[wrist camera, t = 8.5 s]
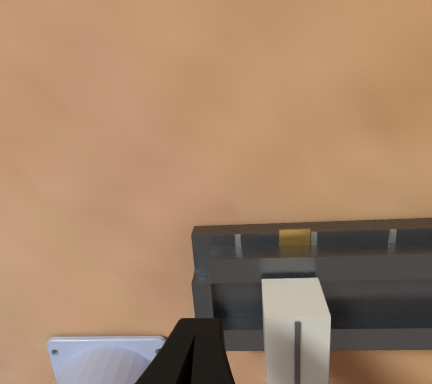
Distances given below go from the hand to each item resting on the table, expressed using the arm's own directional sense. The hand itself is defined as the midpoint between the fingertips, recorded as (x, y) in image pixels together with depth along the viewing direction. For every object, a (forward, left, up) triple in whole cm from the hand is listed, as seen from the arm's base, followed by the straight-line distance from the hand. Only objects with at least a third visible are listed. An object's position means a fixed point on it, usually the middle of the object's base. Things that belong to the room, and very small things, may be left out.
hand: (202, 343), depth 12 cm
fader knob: (-4, -3, -8) cm, 10 cm away
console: (-4, -9, -10) cm, 14 cm away
